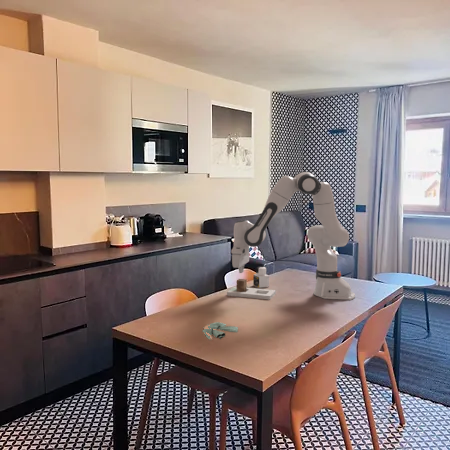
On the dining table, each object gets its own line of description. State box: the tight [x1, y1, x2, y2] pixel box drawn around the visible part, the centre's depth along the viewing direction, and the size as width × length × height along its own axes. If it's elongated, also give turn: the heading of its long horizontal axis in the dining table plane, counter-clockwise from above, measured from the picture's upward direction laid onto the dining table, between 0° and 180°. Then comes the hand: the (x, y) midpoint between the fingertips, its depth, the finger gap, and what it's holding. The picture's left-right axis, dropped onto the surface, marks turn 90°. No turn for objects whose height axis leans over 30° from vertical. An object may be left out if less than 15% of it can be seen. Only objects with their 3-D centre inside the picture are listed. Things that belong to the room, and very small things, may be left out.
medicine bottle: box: [252, 266, 270, 289], centre depth 257 cm, size 7×7×12 cm
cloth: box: [202, 321, 239, 340], centre depth 180 cm, size 20×22×2 cm
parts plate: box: [226, 286, 277, 301], centre depth 239 cm, size 25×13×2 cm, turn 69°
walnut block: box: [236, 278, 248, 292], centre depth 240 cm, size 4×4×8 cm
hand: (241, 272), depth 239 cm, fingers closed
